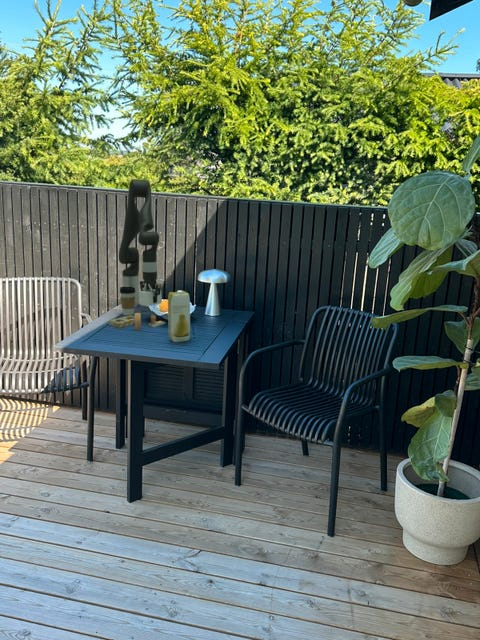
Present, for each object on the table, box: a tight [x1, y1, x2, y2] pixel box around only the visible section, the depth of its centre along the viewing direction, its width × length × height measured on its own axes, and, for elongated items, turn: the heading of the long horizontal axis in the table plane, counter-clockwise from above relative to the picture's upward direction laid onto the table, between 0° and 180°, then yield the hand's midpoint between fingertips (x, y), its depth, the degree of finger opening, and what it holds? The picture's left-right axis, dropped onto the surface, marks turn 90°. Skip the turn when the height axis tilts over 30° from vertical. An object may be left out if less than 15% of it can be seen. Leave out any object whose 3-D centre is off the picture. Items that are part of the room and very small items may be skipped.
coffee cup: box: [119, 286, 135, 316], centre depth 314 cm, size 8×8×15 cm
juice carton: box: [167, 290, 191, 343], centre depth 269 cm, size 9×8×24 cm
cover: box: [139, 289, 163, 307], centre depth 302 cm, size 6×10×7 cm, turn 141°
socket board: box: [108, 315, 135, 329], centre depth 297 cm, size 14×8×2 cm, turn 141°
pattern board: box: [148, 314, 166, 328], centre depth 296 cm, size 4×8×5 cm, turn 141°
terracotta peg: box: [134, 312, 142, 331], centre depth 287 cm, size 3×3×8 cm
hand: (150, 301), depth 303 cm, fingers closed on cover, 6 cm apart
